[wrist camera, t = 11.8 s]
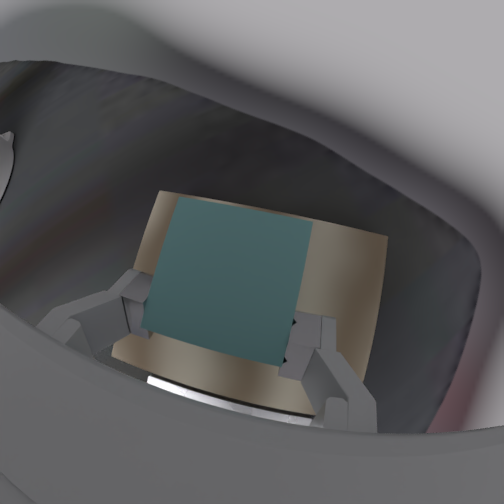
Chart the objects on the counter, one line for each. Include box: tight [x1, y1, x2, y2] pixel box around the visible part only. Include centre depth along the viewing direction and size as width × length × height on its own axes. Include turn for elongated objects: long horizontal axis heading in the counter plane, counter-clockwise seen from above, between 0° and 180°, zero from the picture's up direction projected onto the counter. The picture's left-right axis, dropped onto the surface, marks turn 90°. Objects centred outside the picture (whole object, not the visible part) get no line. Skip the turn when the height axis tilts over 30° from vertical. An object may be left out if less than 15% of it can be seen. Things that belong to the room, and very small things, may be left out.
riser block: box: [112, 191, 388, 415], centre depth 19 cm, size 16×12×4 cm
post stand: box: [147, 374, 312, 426], centre depth 15 cm, size 12×12×6 cm
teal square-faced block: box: [140, 197, 313, 367], centre depth 12 cm, size 5×5×8 cm
